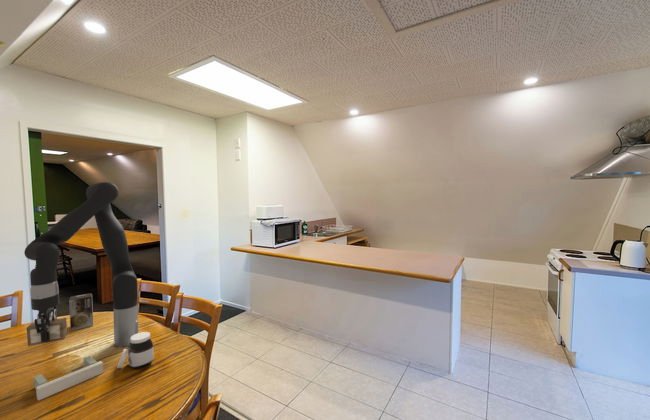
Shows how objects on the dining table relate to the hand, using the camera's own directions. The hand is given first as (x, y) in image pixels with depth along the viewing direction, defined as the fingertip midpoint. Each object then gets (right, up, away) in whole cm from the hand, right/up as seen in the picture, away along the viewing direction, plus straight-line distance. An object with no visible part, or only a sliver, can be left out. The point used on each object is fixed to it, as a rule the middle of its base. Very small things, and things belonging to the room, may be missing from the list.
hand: (48, 338), depth 107 cm
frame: (0, -1, 0) cm, 1 cm away
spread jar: (+28, -15, +8) cm, 32 cm away
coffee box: (-23, -13, +41) cm, 48 cm away
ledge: (+10, -15, -3) cm, 18 cm away
